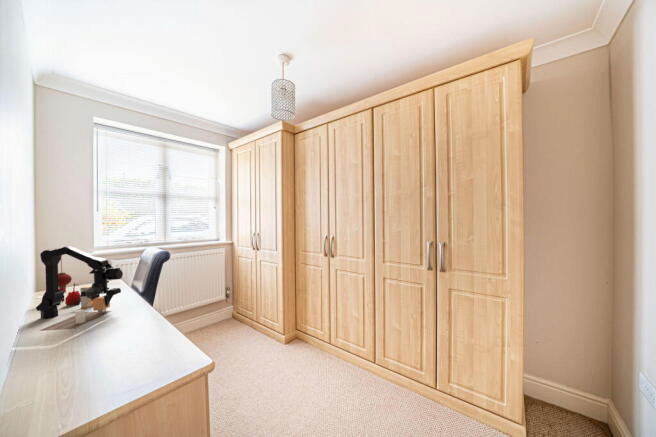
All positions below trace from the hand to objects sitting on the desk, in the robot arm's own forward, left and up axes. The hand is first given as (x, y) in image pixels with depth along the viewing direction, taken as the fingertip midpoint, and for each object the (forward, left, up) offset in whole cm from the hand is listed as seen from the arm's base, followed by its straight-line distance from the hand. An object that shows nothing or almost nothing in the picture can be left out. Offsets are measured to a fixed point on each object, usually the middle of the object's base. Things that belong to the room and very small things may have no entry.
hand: (101, 306), depth 151 cm
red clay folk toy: (-34, +21, -5) cm, 41 cm away
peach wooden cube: (0, 0, -1) cm, 1 cm away
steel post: (0, 0, -4) cm, 4 cm away
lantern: (-48, +29, -5) cm, 57 cm away
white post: (0, -14, -4) cm, 15 cm away
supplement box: (-20, +17, -5) cm, 27 cm away
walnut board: (-4, -10, -4) cm, 12 cm away
